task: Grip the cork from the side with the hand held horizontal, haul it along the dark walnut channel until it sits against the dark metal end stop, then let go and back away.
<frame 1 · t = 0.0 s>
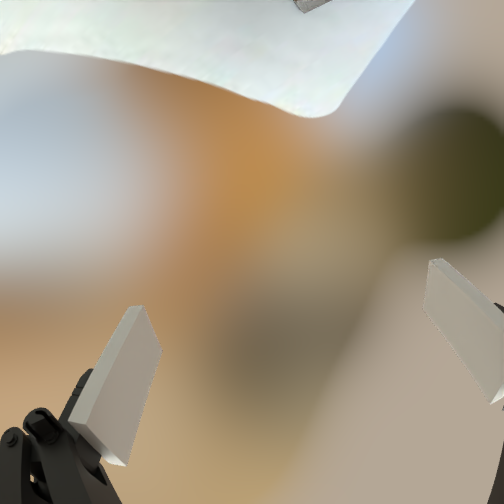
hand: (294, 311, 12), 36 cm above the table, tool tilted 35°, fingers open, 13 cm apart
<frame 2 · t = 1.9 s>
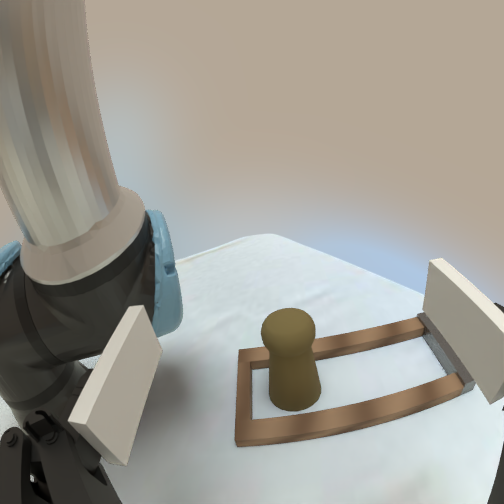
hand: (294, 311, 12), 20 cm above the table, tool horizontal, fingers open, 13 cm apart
cork: (295, 392, 31), on the table
walnut channel: (345, 381, 30), on the table
end stop: (442, 354, 30), on the table
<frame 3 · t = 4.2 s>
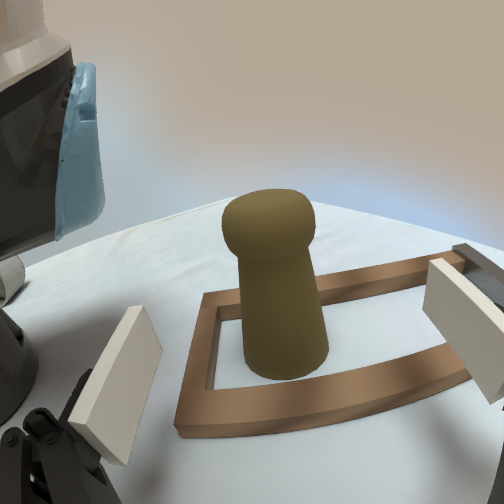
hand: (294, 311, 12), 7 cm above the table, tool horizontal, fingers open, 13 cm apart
cork: (286, 350, 20), on the table
walnut channel: (367, 333, 20), on the table
end stop: (495, 294, 19), on the table
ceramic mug: (5, 299, 36), on the table
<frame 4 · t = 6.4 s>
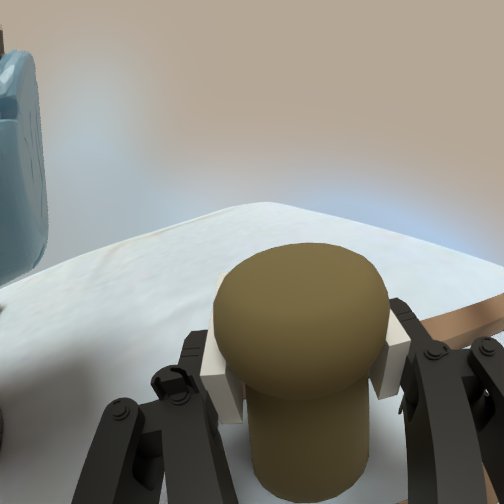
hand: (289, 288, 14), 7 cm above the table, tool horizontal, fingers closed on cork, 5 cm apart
cork: (310, 454, 12), on the table, touching gripper
walnut channel: (417, 425, 12), on the table
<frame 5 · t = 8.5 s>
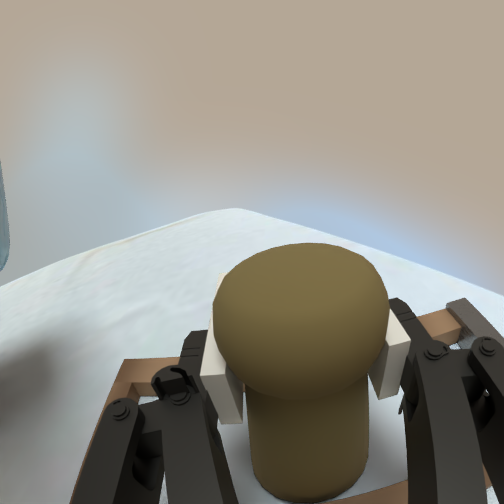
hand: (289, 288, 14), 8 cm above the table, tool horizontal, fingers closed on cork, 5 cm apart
cork: (310, 454, 12), on the table, touching gripper
walnut channel: (304, 441, 13), on the table
end stop: (495, 376, 13), on the table
when the fingers open (7 cm above the table, at t = 10.7 s): cork moves 2 cm, on the table.
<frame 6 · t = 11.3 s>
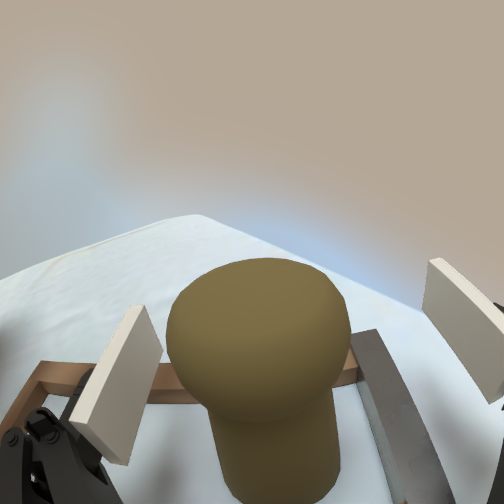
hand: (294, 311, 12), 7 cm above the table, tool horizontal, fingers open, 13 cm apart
cork: (281, 465, 12), on the table
walnut channel: (148, 459, 13), on the table
end stop: (392, 435, 12), on the table
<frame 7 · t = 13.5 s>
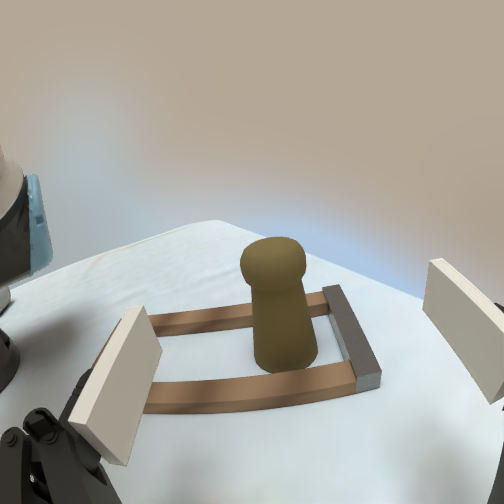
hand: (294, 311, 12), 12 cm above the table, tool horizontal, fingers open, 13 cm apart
cork: (286, 352, 27), on the table
walnut channel: (209, 358, 27), on the table
end stop: (347, 337, 26), on the table
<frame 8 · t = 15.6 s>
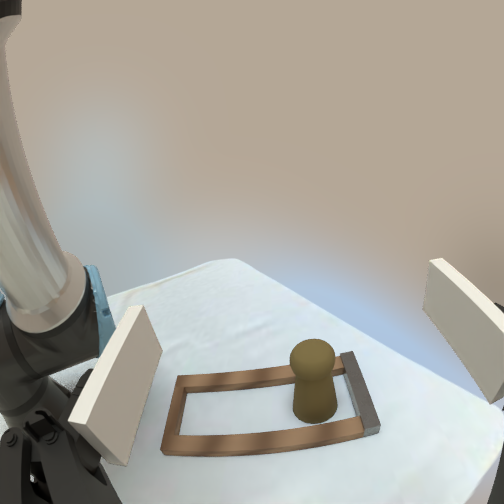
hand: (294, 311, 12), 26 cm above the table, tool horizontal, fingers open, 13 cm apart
cork: (315, 406, 35), on the table
walnut channel: (259, 411, 35), on the table
end stop: (357, 395, 35), on the table
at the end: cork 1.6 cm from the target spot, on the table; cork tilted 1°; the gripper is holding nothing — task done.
